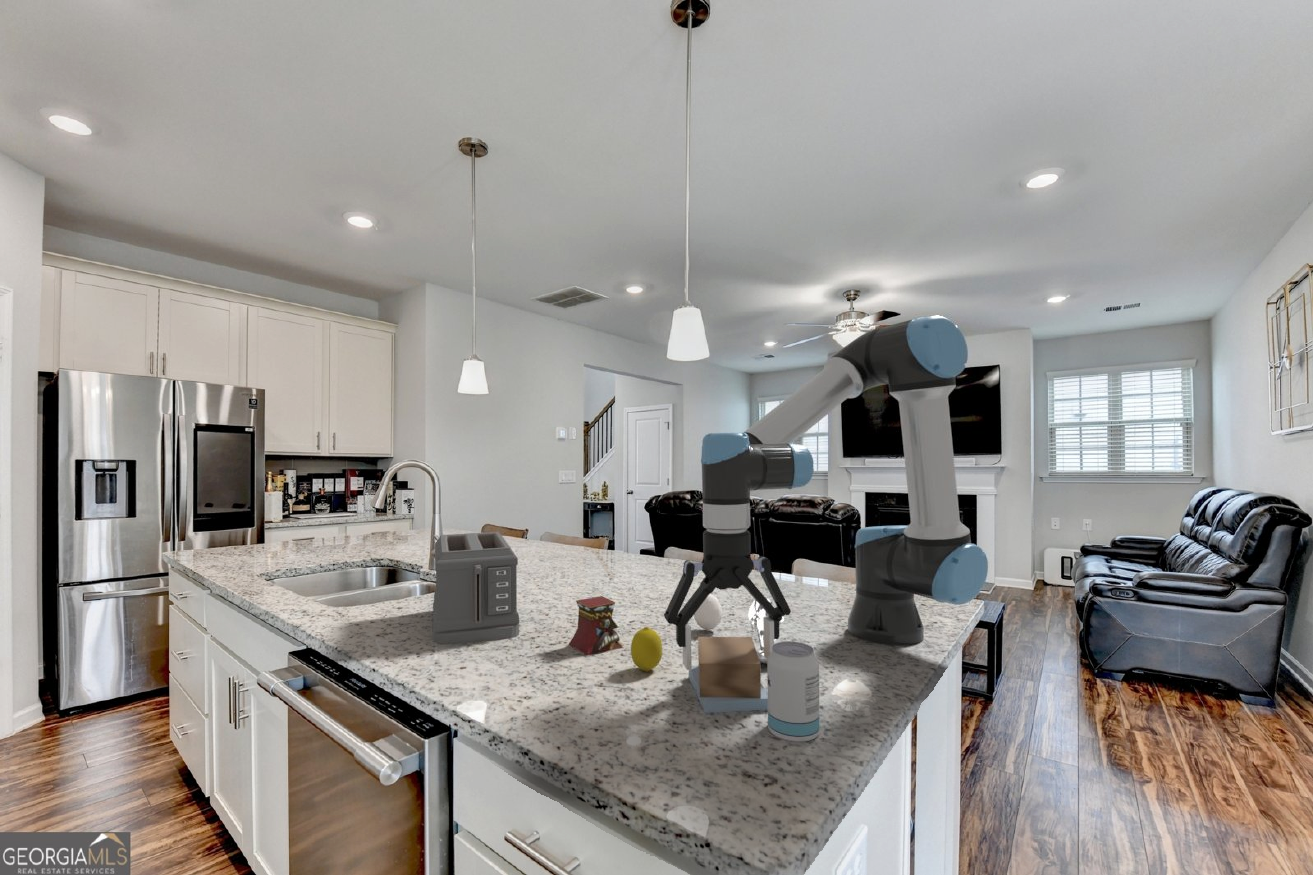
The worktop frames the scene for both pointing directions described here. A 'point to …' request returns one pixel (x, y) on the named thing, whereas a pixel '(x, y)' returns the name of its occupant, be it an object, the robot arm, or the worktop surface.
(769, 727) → the beverage can
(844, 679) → the worktop surface
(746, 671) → the walnut brick
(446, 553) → the toaster
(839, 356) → the robot arm
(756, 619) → the figurine
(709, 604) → the egg
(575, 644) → the tiki totem
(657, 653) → the lemon
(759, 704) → the base brick
